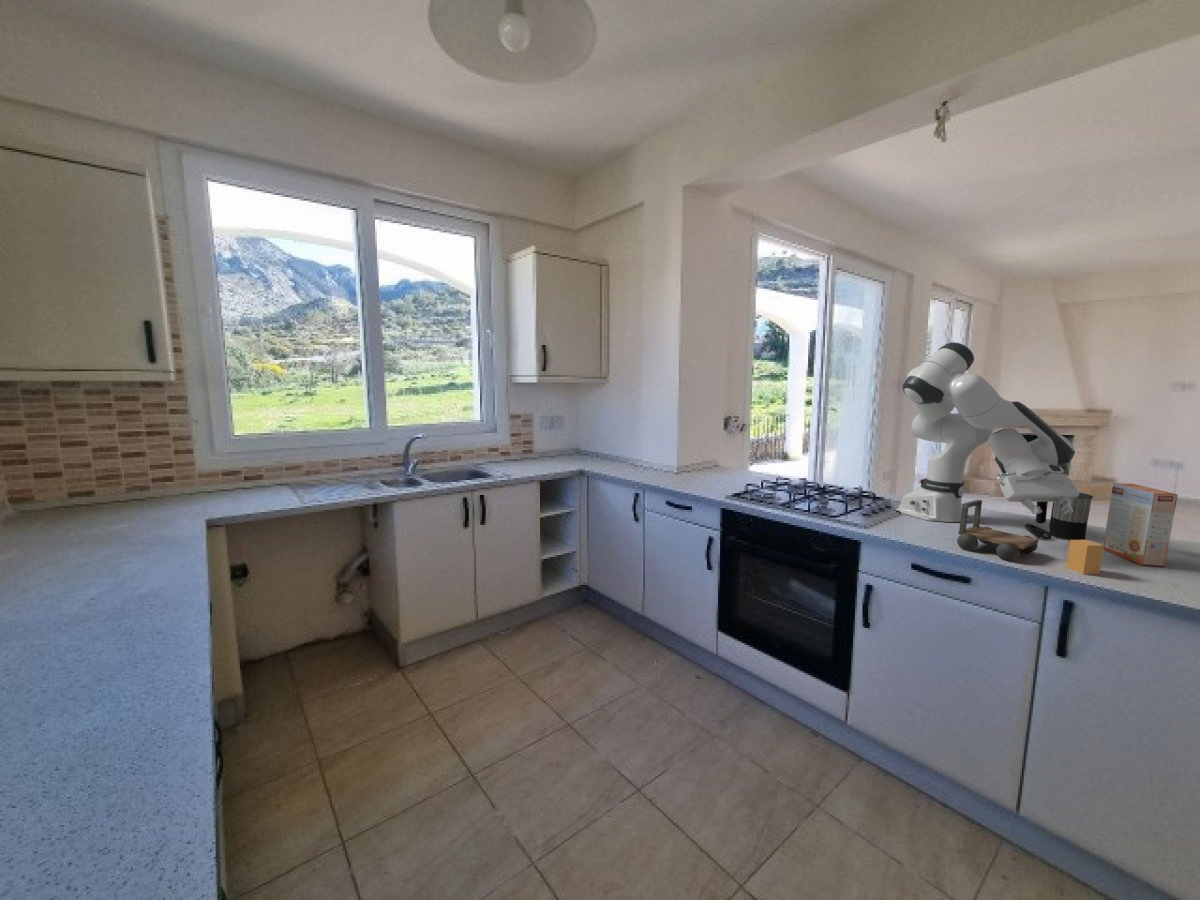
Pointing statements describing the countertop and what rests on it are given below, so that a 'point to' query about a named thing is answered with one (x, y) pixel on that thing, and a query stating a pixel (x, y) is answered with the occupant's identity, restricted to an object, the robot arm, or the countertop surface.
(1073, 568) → the block
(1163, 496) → the cracker box
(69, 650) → the countertop surface
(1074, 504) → the milk frother
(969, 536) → the trolley
